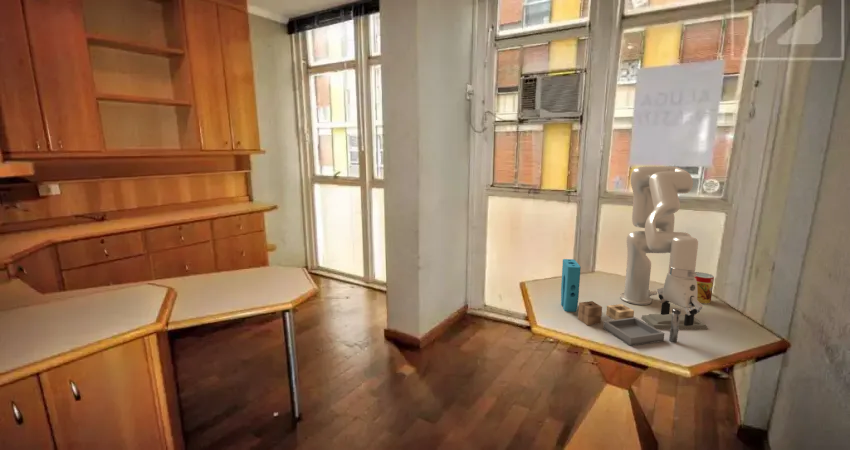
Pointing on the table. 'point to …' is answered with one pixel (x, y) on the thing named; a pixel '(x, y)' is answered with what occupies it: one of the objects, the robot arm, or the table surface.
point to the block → (570, 285)
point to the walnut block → (590, 313)
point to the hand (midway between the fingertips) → (676, 319)
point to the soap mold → (665, 322)
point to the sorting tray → (633, 331)
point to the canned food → (704, 287)
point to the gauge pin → (674, 325)
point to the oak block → (619, 312)
